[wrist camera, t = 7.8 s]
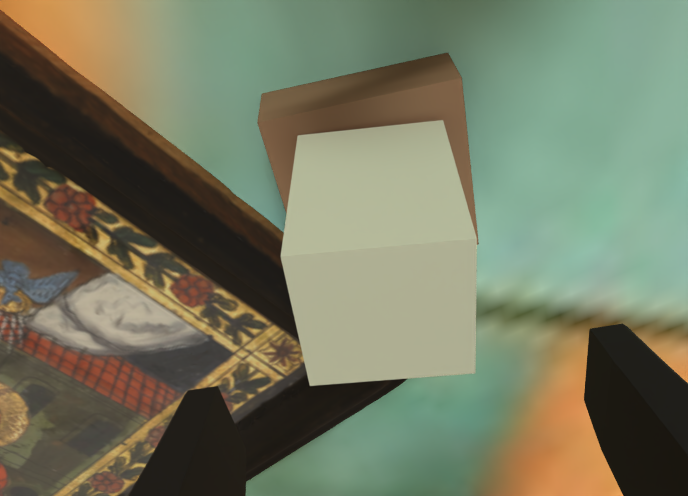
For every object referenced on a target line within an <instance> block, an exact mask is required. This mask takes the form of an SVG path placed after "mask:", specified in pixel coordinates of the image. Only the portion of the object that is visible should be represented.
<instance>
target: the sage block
mask: <svg viewBox="0 0 688 496" xmlns="http://www.w3.org/2000/svg"><path fill="white" fill-rule="evenodd" d="M281 261H282V265H283V270H284V274H285V278H286V283H287V287H288V292H289V296H290V301H291V305H292V309H293V314H294V318H295V323H296V327H297V332H298V336H299V340H300V345H301V349H302V354H303V358H304V363H305V367H306V371H307V376H308V380H309V385H310V386H315V385H328V384H341V383H354V382H367V381H381V380H394V379H407V378H420V377H433V376H446V375H459V374H472V373H475V353H476V266H477V237H476V234H475V230H474V227H473V223H472V220H471V216H470V213H469V209H468V206H467V202H466V199H465V195H464V192H463V188H462V185H461V181H460V178H459V174H458V171H457V167H456V164H455V160H454V157H453V153H452V150H451V146H450V143H449V139H448V136H447V132H446V129H445V125H444V122H443V120H438V121H429V122H419V123H410V124H401V125H391V126H382V127H372V128H363V129H354V130H344V131H335V132H325V133H316V134H307V135H298V136H297V144H296V151H295V158H294V165H293V172H292V179H291V186H290V193H289V200H288V207H287V214H286V222H285V229H284V236H283V243H282V250H281Z"/></svg>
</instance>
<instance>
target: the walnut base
mask: <svg viewBox="0 0 688 496" xmlns="http://www.w3.org/2000/svg"><path fill="white" fill-rule="evenodd" d="M438 120H443V122H444V125H445V129H446V132H447V136H448V139H449V143H450V146H451V150H452V153H453V157H454V160H455V164H456V167H457V171H458V174H459V178H460V181H461V185H462V188H463V192H464V195H465V199H466V202H467V206H468V209H469V213H470V216H471V220H472V223H473V227H474V230H475V234H476V237H477V245H478V244H479V243H478V234H477V224H476V214H475V204H474V194H473V184H472V174H471V165H470V155H469V145H468V135H467V125H466V115H465V106H464V96H463V86H462V77H461V76H460V74H459V72H458V70H457V68H456V66H455V65H454V63H453V61H452V59H451V57H450V55H449V54H448V53H444V54H439V55H435V56H430V57H426V58H421V59H417V60H412V61H408V62H403V63H399V64H394V65H389V66H385V67H380V68H376V69H371V70H367V71H362V72H358V73H353V74H349V75H344V76H340V77H335V78H331V79H326V80H322V81H317V82H313V83H308V84H303V85H299V86H294V87H290V88H285V89H281V90H276V91H272V92H267V93H263V94H262V96H261V103H260V109H259V116H258V122H257V123H258V126H259V129H260V132H261V135H262V138H263V141H264V145H265V148H266V151H267V154H268V157H269V160H270V163H271V166H272V170H273V173H274V176H275V179H276V182H277V185H278V188H279V191H280V195H281V198H282V201H283V204H284V207H285V210H286V213H287V207H288V200H289V193H290V186H291V179H292V172H293V165H294V158H295V151H296V144H297V136H298V135H307V134H316V133H325V132H335V131H344V130H354V129H363V128H372V127H382V126H391V125H401V124H410V123H419V122H429V121H438Z"/></svg>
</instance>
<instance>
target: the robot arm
mask: <svg viewBox="0 0 688 496" xmlns="http://www.w3.org/2000/svg"><path fill="white" fill-rule="evenodd" d="M584 401H585V404H586V407H587V410H588V413H589V416H590V419H591V422H592V425H593V427H594V430H595V433H596V436H597V439H598V441H599V444H600V447H601V450H602V452H603V454H604V456H605V458H606V460H607V462H608V465H609V467H610V469H611V471H612V473H613V475H614V477H615V479H616V481H617V483H618V485H619V487H620V490H621V492H622V494H623V496H688V383H687V382H686V381H684V380H683V379H682V378H681V377H680V376H679V375H678V374H677V373H676V372H675V371H674V370H672V369H671V368H670V367H669V366H668V365H667V364H666V363H665V362H664V361H663V360H662V359H661V358H659V357H658V356H657V355H656V354H655V353H654V352H653V351H652V350H651V349H650V348H649V347H648V346H647V345H646V344H645V343H644V342H643V341H642V340H641V339H640V338H638V337H637V336H636V335H635V334H634V333H633V332H632V331H631V330H630V329H629V328H628V327H627V326H625V325H624V324H618V325H611V326H605V327H598V328H592V329H590V331H589V343H588V356H587V368H586V381H585V393H584ZM245 494H246V447H245V445H244V443H243V441H242V438H241V436H240V434H239V432H238V430H237V427H236V425H235V423H234V421H233V418H232V416H231V414H230V412H229V410H228V407H227V405H226V403H225V401H224V399H223V396H222V394H221V392H220V390H219V387H218V386H214V387H207V388H201V389H194V390H188V391H187V392H186V394H185V395H184V397H183V399H182V400H181V402H180V404H179V406H178V408H177V410H176V412H175V414H174V415H173V417H172V419H171V421H170V423H169V425H168V427H167V428H166V430H165V432H164V434H163V436H162V438H161V439H160V441H159V443H158V445H157V447H156V448H155V450H154V452H153V454H152V456H151V457H150V459H149V461H148V462H147V464H146V466H145V468H144V469H143V471H142V473H141V474H140V476H139V478H138V479H137V481H136V483H135V485H134V486H133V488H132V490H131V491H130V493H129V495H128V496H245Z"/></svg>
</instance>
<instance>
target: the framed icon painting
mask: <svg viewBox="0 0 688 496" xmlns="http://www.w3.org/2000/svg"><path fill="white" fill-rule="evenodd" d="M283 236H284V233H283V232H282V231H281V230H280V229H278V228H277V227H276V226H275V225H274V224H272V223H271V222H270V221H269V220H268V219H266V218H265V217H264V216H263V215H261V214H260V213H259V212H257V211H256V210H255V209H253V208H252V207H251V206H249V205H248V204H247V203H245V202H244V201H243V200H241V199H240V198H239V197H237V196H236V195H235V194H233V193H232V192H231V190H230V189H229V188H227V187H226V186H225V185H224V184H223V183H221V182H220V181H219V180H218V179H216V178H215V177H214V176H213V175H212V174H210V173H209V172H208V171H207V170H205V169H204V168H203V167H201V166H200V165H199V164H198V163H196V162H195V161H194V160H193V159H191V158H190V157H189V156H187V155H186V154H185V153H183V152H182V151H181V150H180V149H178V148H177V147H176V146H174V145H173V144H172V143H170V142H169V141H168V140H166V139H165V138H164V137H163V136H161V135H160V134H159V133H157V132H156V131H155V130H153V129H152V128H151V127H149V126H148V125H147V124H146V123H144V122H143V121H142V120H140V119H139V118H138V117H136V116H135V115H134V114H132V113H131V112H130V111H129V110H127V109H126V108H125V107H123V106H122V105H121V104H120V103H118V102H117V101H116V100H114V99H113V98H112V97H111V96H109V95H108V94H107V93H105V92H104V91H103V90H101V89H100V88H99V87H97V86H96V85H95V84H93V83H92V82H90V81H89V80H88V79H86V78H85V77H84V76H82V75H81V74H79V73H78V72H77V71H75V70H74V69H73V68H72V67H70V66H69V65H68V64H67V63H65V62H64V61H63V60H62V59H60V58H59V57H58V56H57V55H56V54H54V53H53V52H52V51H51V50H50V49H49V48H47V47H46V46H45V45H44V44H42V43H41V42H40V41H39V40H37V39H36V38H35V37H34V36H32V35H31V34H30V33H28V32H27V31H26V30H25V29H23V28H22V27H21V26H20V25H19V24H17V23H16V22H15V21H14V20H12V19H11V18H10V17H9V16H7V15H6V14H5V13H4V12H2V11H1V10H0V496H128V495H129V493H130V491H131V490H132V488H133V486H134V485H135V483H136V481H137V479H138V478H139V476H140V474H141V473H142V471H143V469H144V468H145V466H146V464H147V462H148V461H149V459H150V457H151V456H152V454H153V452H154V450H155V448H156V447H157V445H158V443H159V441H160V439H161V438H162V436H163V434H164V432H165V430H166V428H167V427H168V425H169V423H170V421H171V419H172V417H173V415H174V414H175V412H176V410H177V408H178V406H179V404H180V402H181V400H182V399H183V397H184V395H185V394H186V392H187V391H188V390H194V389H201V388H207V387H214V386H218V387H219V390H220V392H221V394H222V396H223V399H224V401H225V403H226V405H227V407H228V410H229V412H230V414H231V416H232V418H233V421H234V423H235V425H236V427H237V430H238V432H239V434H240V436H241V438H242V441H243V443H244V445H245V447H246V481H248V480H250V479H251V478H253V477H254V476H256V475H258V474H259V473H261V472H262V471H264V470H265V469H267V468H269V467H270V466H272V465H273V464H275V463H277V462H278V461H280V460H281V459H283V458H285V457H286V456H288V455H289V454H291V453H292V452H294V451H296V450H297V449H299V448H300V447H302V446H304V445H305V444H307V443H308V442H310V441H312V440H313V439H315V438H317V437H318V436H320V435H322V434H323V433H325V432H326V431H328V430H330V429H331V428H333V427H334V426H336V425H337V424H339V423H341V422H342V421H344V420H345V419H347V418H349V417H350V416H352V415H353V414H355V413H357V412H358V411H360V410H362V409H363V408H365V407H366V406H368V405H369V404H371V403H373V402H374V401H376V400H378V399H379V398H381V397H382V396H384V395H386V394H387V393H389V392H390V391H392V390H393V389H395V388H396V387H397V386H399V385H400V384H402V383H403V382H404V381H405V380H407V379H408V378H407V379H394V380H381V381H367V382H354V383H341V384H328V385H315V386H310V385H309V380H308V376H307V371H306V367H305V363H304V358H303V354H302V349H301V345H300V340H299V336H298V332H297V327H296V323H295V318H294V314H293V309H292V305H291V301H290V296H289V292H288V287H287V283H286V278H285V274H284V270H283V265H282V261H281V250H282V243H283Z"/></svg>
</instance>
